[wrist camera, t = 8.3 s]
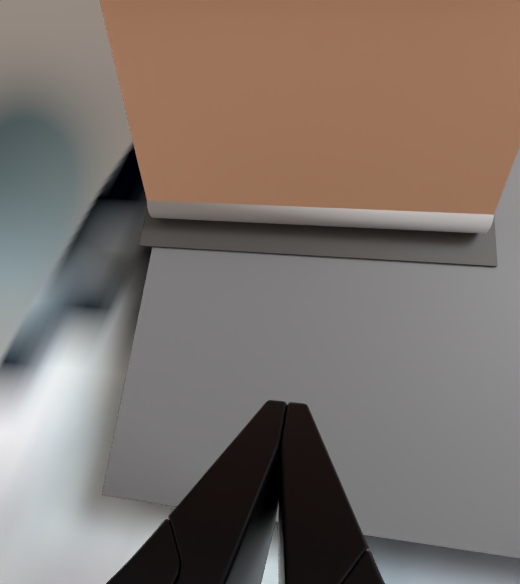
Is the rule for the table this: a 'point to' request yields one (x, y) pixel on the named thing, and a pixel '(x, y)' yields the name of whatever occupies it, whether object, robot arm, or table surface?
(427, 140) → the tan flat block
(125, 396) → the switch panel
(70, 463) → the table surface
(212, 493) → the robot arm
